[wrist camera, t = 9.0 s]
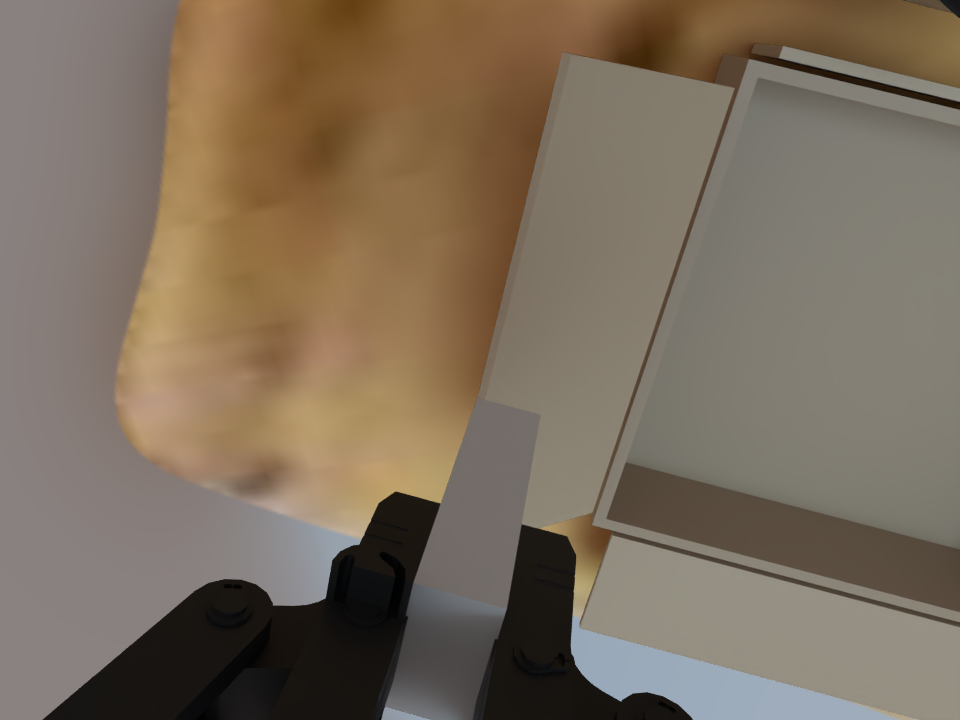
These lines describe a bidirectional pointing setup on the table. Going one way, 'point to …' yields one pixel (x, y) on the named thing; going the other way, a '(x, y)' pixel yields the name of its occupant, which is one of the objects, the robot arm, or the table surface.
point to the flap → (596, 264)
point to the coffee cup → (940, 5)
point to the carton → (803, 401)
